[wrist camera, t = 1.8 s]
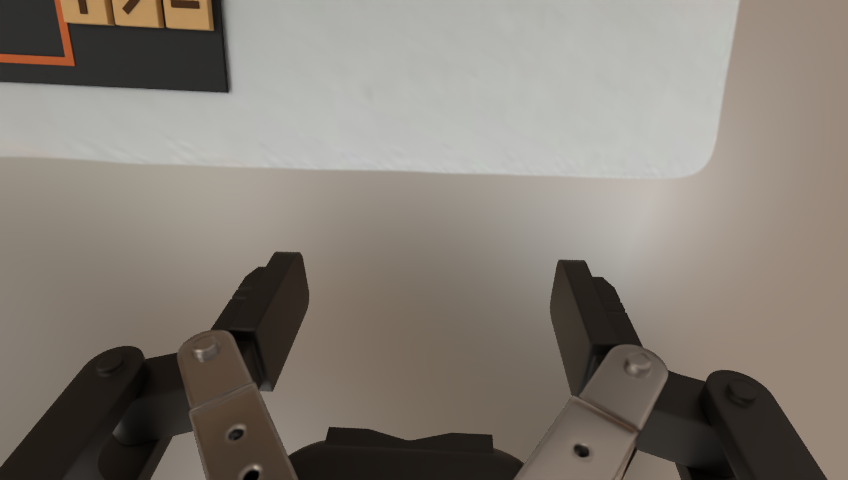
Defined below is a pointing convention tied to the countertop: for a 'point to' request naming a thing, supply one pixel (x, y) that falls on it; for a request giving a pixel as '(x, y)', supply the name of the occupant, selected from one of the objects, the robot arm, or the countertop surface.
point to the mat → (114, 43)
